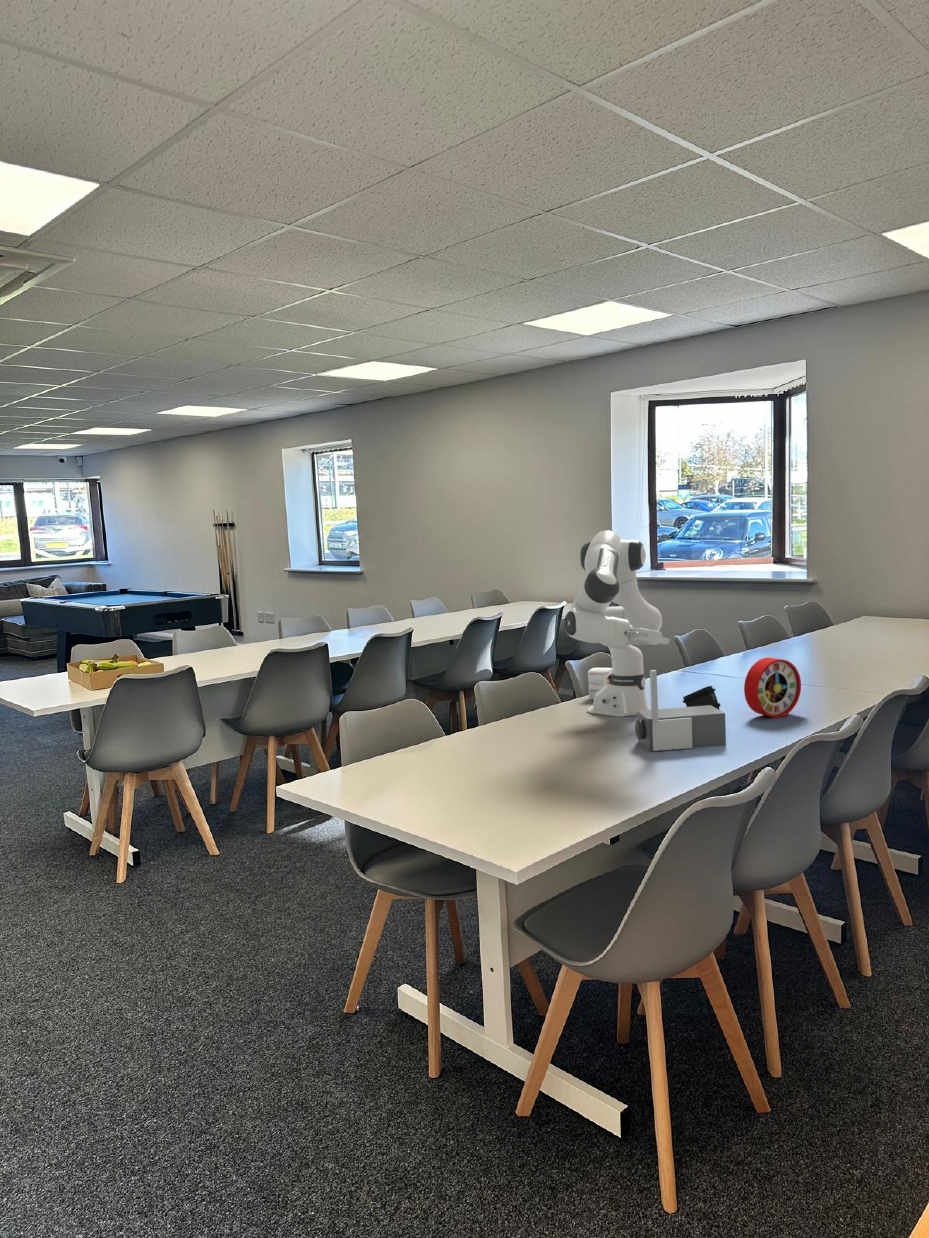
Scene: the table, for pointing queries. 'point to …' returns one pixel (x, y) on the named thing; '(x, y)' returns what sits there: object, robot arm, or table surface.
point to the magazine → (702, 698)
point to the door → (668, 725)
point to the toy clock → (772, 687)
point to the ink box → (598, 680)
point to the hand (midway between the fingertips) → (660, 641)
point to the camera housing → (704, 725)
